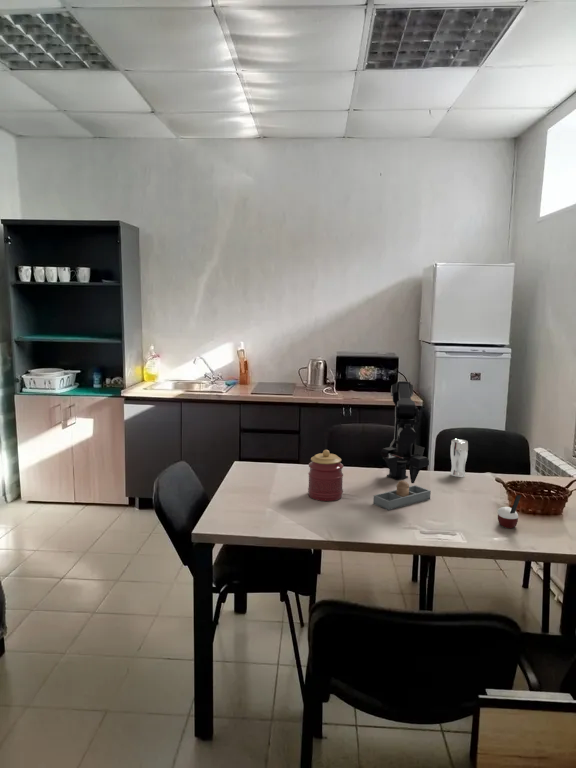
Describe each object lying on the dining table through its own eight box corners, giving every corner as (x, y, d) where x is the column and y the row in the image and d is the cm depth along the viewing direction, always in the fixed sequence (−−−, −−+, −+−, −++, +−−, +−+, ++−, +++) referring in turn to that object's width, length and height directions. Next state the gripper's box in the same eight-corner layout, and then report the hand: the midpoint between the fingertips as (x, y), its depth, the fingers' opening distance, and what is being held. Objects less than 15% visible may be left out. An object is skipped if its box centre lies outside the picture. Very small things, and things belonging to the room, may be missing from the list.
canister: (302, 497, 201) (302, 451, 199) (316, 488, 213) (317, 444, 210) (334, 504, 195) (335, 456, 193) (347, 493, 207) (349, 448, 204)
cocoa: (495, 521, 182) (495, 486, 181) (515, 522, 181) (515, 487, 180) (500, 531, 173) (501, 494, 172) (521, 532, 172) (522, 495, 171)
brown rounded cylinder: (393, 499, 199) (394, 480, 198) (402, 497, 202) (403, 478, 201) (402, 502, 196) (403, 483, 195) (411, 500, 198) (411, 481, 197)
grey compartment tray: (373, 503, 196) (373, 495, 196) (414, 493, 208) (415, 485, 208) (388, 510, 190) (388, 501, 189) (430, 499, 202) (430, 490, 202)
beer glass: (445, 473, 234) (447, 439, 232) (458, 472, 236) (460, 438, 234) (457, 478, 227) (459, 443, 225) (469, 476, 230) (471, 441, 228)
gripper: (440, 440, 193) (438, 483, 195) (401, 430, 208) (400, 470, 210) (418, 444, 186) (416, 488, 188) (380, 433, 202) (378, 474, 204)
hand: (403, 479), depth 198 cm, fingers open, 9 cm apart
